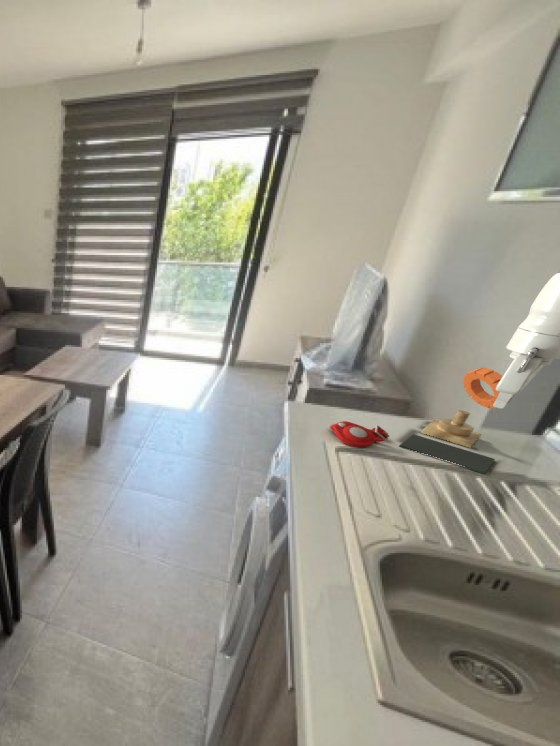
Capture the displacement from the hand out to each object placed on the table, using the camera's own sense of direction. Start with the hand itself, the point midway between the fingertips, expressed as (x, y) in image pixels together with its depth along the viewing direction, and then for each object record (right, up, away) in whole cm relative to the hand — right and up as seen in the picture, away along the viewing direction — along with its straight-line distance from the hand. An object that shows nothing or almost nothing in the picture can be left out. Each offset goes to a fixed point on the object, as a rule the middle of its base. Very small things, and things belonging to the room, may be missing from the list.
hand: (500, 404), depth 110 cm
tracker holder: (-21, -8, +14) cm, 27 cm away
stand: (+8, -7, +19) cm, 22 cm away
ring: (-2, +3, +2) cm, 5 cm away
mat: (-3, -11, +10) cm, 15 cm away
